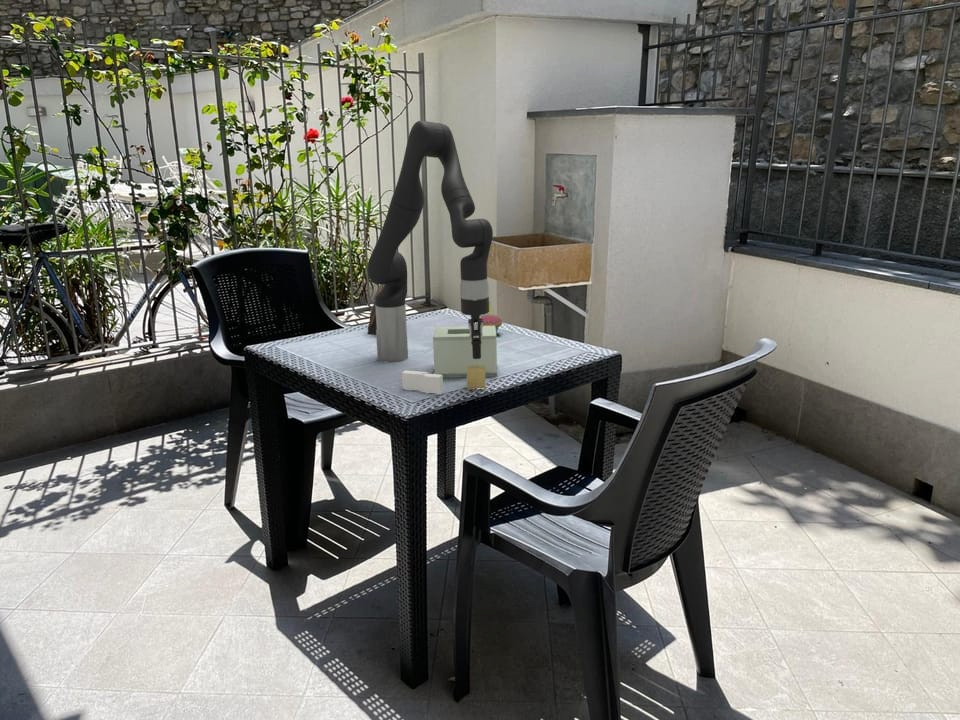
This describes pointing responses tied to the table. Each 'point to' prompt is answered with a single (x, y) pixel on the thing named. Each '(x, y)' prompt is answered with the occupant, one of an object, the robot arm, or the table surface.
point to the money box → (463, 351)
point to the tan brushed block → (476, 377)
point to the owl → (374, 315)
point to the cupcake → (491, 319)
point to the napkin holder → (422, 381)
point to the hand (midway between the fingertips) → (476, 354)
